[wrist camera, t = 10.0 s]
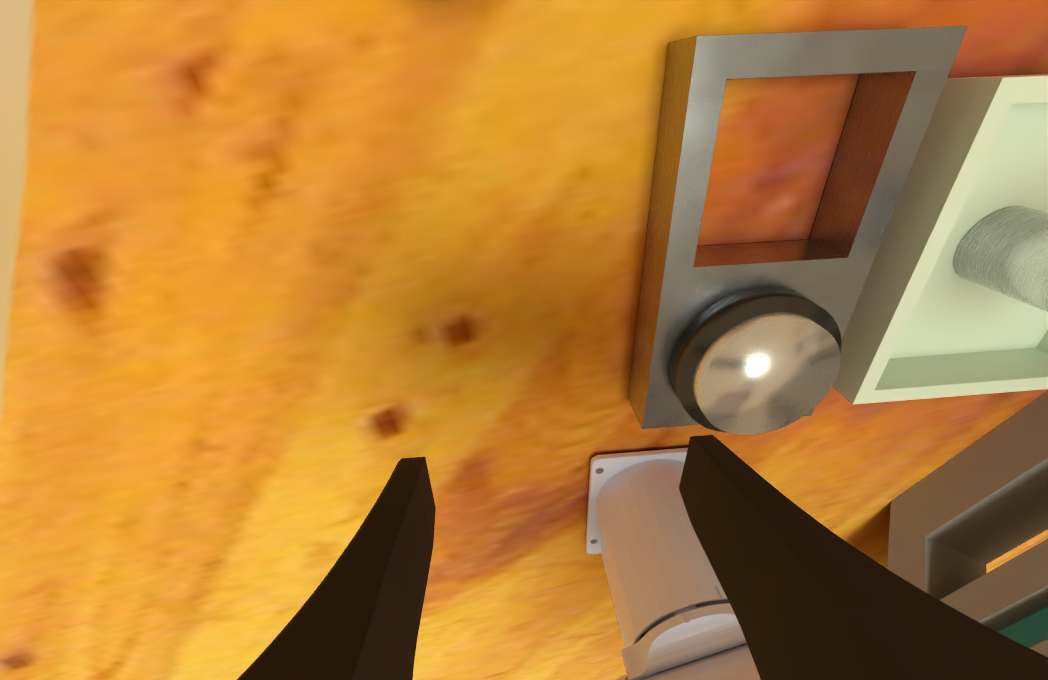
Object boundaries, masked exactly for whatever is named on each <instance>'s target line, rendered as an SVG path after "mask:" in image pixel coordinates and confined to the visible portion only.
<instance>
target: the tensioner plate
mask: <svg viewBox="0 0 1048 680" xmlns="http://www.w3.org/2000/svg"><path fill="white" fill-rule="evenodd" d="M967 27H968V26H948V27H922V28H896V29H869V30H843V31H817V32H791V33H764V34H738V35H712V36H695V37H691V38H687V39H683V40H679V41H675V42H671V43H668V51H667V60H666V69H665V77H664V86H663V95H662V104H661V113H660V122H659V131H658V140H657V148H656V157H655V166H654V175H653V184H652V193H651V202H650V210H649V219H648V228H647V237H646V246H645V255H644V264H643V273H642V281H641V290H640V299H639V308H638V317H637V326H636V335H635V343H634V352H633V361H632V370H631V379H630V388H629V397H628V399H629V401H630V403H631V406H632V408H633V410H634V412H635V414H636V417H637V419H638V421H639V423H640V425H641V428H642V429H648V428H660V427H673V426H685V425H698V424H700V425H702V426H704V427H706V428H709V429H712V430H715V431H720V432H728V433H732V434H738V435H754V434H762V433H766V432H770V431H773V430H777V429H779V428H782V427H784V426H787V425H789V424H791V423H793V422H795V421H796V420H798V419H800V418H801V417H803V416H810V415H812V413H813V410H814V408H815V406H817V405H818V404H819V402H820V401H821V400H822V399H823V398H824V397H825V396H826V394H827V393H828V392H829V390H830V389H831V387H832V386H833V384H834V382H835V380H836V378H837V375H838V372H839V368H840V360H841V355H840V354H841V345H842V338H843V336H844V333H845V331H846V328H847V326H848V323H849V321H850V318H851V316H852V313H853V311H854V308H855V306H856V303H857V301H858V298H859V296H860V293H861V291H862V288H863V286H864V283H865V281H866V278H867V276H868V273H869V271H870V268H871V266H872V263H873V261H874V258H875V256H876V254H877V251H878V249H879V246H880V244H881V241H882V239H883V236H884V234H885V231H886V229H887V226H888V224H889V221H890V219H891V216H892V214H893V211H894V209H895V206H896V204H897V201H898V199H899V196H900V194H901V191H902V189H903V186H904V184H905V181H906V179H907V176H908V174H909V172H910V169H911V167H912V164H913V162H914V159H915V157H916V154H917V152H918V149H919V147H920V144H921V142H922V139H923V137H924V134H925V132H926V129H927V127H928V124H929V122H930V119H931V117H932V114H933V112H934V109H935V107H936V104H937V102H938V99H939V97H940V94H941V92H942V90H943V87H944V85H945V82H946V80H947V77H948V75H949V72H950V70H951V67H952V65H953V62H954V60H955V57H956V55H957V52H958V50H959V47H960V45H961V42H962V40H963V37H964V35H965V32H966V30H967ZM856 73H861V75H860V78H859V81H858V85H857V88H856V91H855V94H854V97H853V101H852V104H851V107H850V110H849V113H848V117H847V120H846V123H845V126H844V129H843V133H842V136H841V139H840V142H839V145H838V149H837V152H836V155H835V158H834V161H833V165H832V168H831V171H830V174H829V177H828V181H827V184H826V187H825V190H824V193H823V197H822V200H821V203H820V206H819V209H818V213H817V216H816V219H815V222H814V225H813V229H812V232H811V235H810V238H809V239H807V240H790V241H774V242H757V243H741V244H724V245H708V246H697V243H698V238H699V232H700V226H701V221H702V215H703V209H704V204H705V198H706V192H707V187H708V181H709V175H710V170H711V164H712V158H713V153H714V147H715V141H716V136H717V130H718V124H719V119H720V113H721V107H722V102H723V96H724V90H725V85H726V79H739V78H762V77H786V76H809V75H832V74H856Z"/></svg>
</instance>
